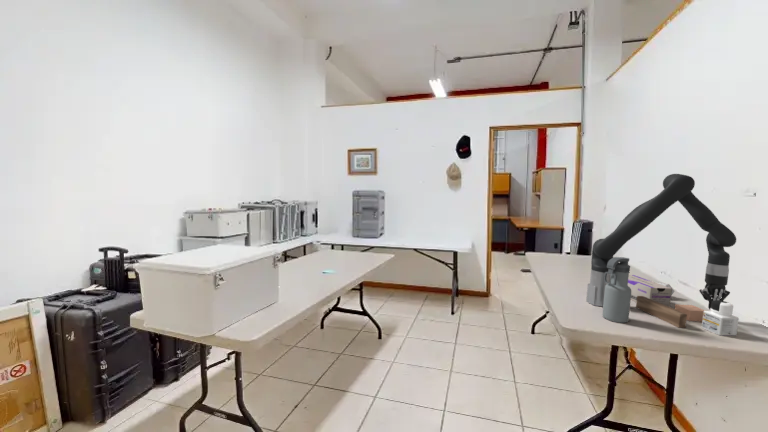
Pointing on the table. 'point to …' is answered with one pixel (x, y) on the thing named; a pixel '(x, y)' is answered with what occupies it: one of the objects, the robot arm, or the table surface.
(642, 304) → the stop board
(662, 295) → the surgical sutures box
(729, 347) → the table surface
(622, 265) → the water bottle
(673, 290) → the die
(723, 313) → the container
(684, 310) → the block
